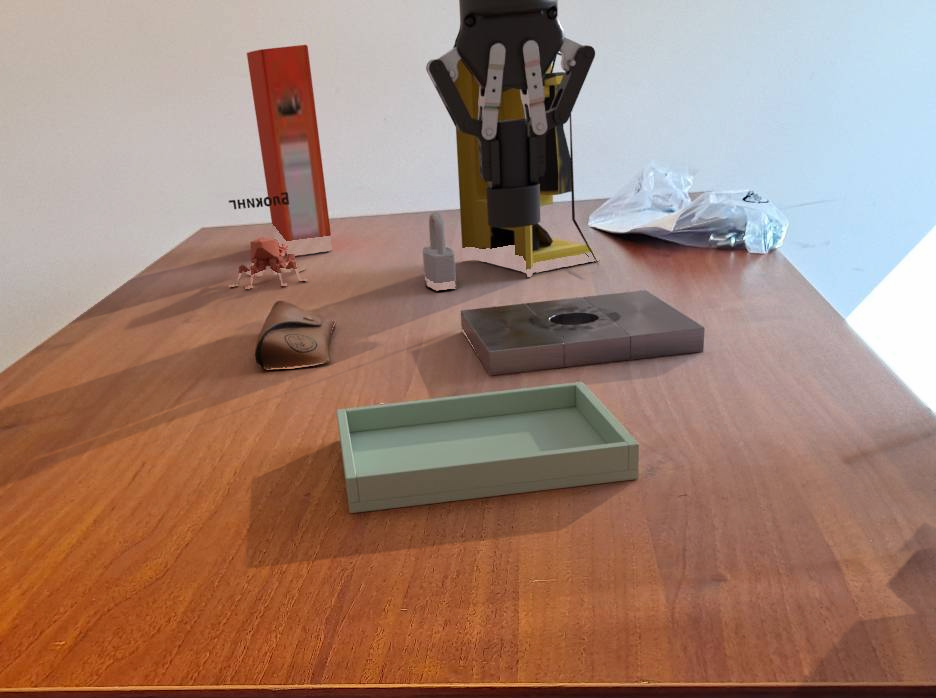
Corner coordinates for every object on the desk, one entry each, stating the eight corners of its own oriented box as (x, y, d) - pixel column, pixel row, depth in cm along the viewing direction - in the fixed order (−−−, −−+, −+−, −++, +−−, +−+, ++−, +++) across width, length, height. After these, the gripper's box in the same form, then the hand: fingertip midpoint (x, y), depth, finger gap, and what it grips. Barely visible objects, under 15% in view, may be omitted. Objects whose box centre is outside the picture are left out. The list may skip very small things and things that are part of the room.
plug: (534, 216, 84) (532, 116, 81) (545, 224, 80) (543, 119, 77) (484, 221, 84) (479, 121, 80) (492, 229, 80) (488, 124, 77)
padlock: (420, 283, 139) (415, 210, 135) (448, 279, 140) (443, 207, 135) (432, 293, 133) (426, 217, 128) (460, 289, 133) (456, 213, 129)
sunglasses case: (334, 360, 105) (296, 310, 103) (283, 397, 107) (244, 349, 104) (337, 320, 121) (304, 276, 119) (293, 353, 123) (260, 310, 121)
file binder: (286, 258, 166) (258, 49, 152) (273, 243, 181) (246, 51, 167) (332, 251, 168) (309, 44, 153) (315, 237, 183) (292, 47, 168)
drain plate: (645, 311, 115) (646, 289, 114) (703, 351, 99) (705, 327, 98) (461, 331, 114) (460, 310, 113) (490, 376, 98) (488, 351, 97)
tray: (581, 411, 86) (582, 381, 85) (638, 479, 72) (639, 443, 71) (339, 439, 85) (336, 409, 84) (349, 513, 71) (345, 478, 70)
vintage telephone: (643, 270, 134) (650, 25, 121) (559, 287, 129) (557, 34, 116) (520, 243, 160) (514, 38, 147) (446, 256, 155) (433, 46, 142)
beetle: (306, 285, 144) (295, 196, 139) (224, 292, 145) (210, 204, 139) (316, 265, 158) (306, 183, 152) (241, 272, 158) (228, 190, 153)
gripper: (419, -54, 69) (435, 199, 77) (611, -72, 70) (608, 182, 78) (409, -44, 76) (425, 188, 84) (585, -60, 77) (584, 172, 84)
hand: (513, 184), depth 81 cm, fingers closed on plug, 2 cm apart
